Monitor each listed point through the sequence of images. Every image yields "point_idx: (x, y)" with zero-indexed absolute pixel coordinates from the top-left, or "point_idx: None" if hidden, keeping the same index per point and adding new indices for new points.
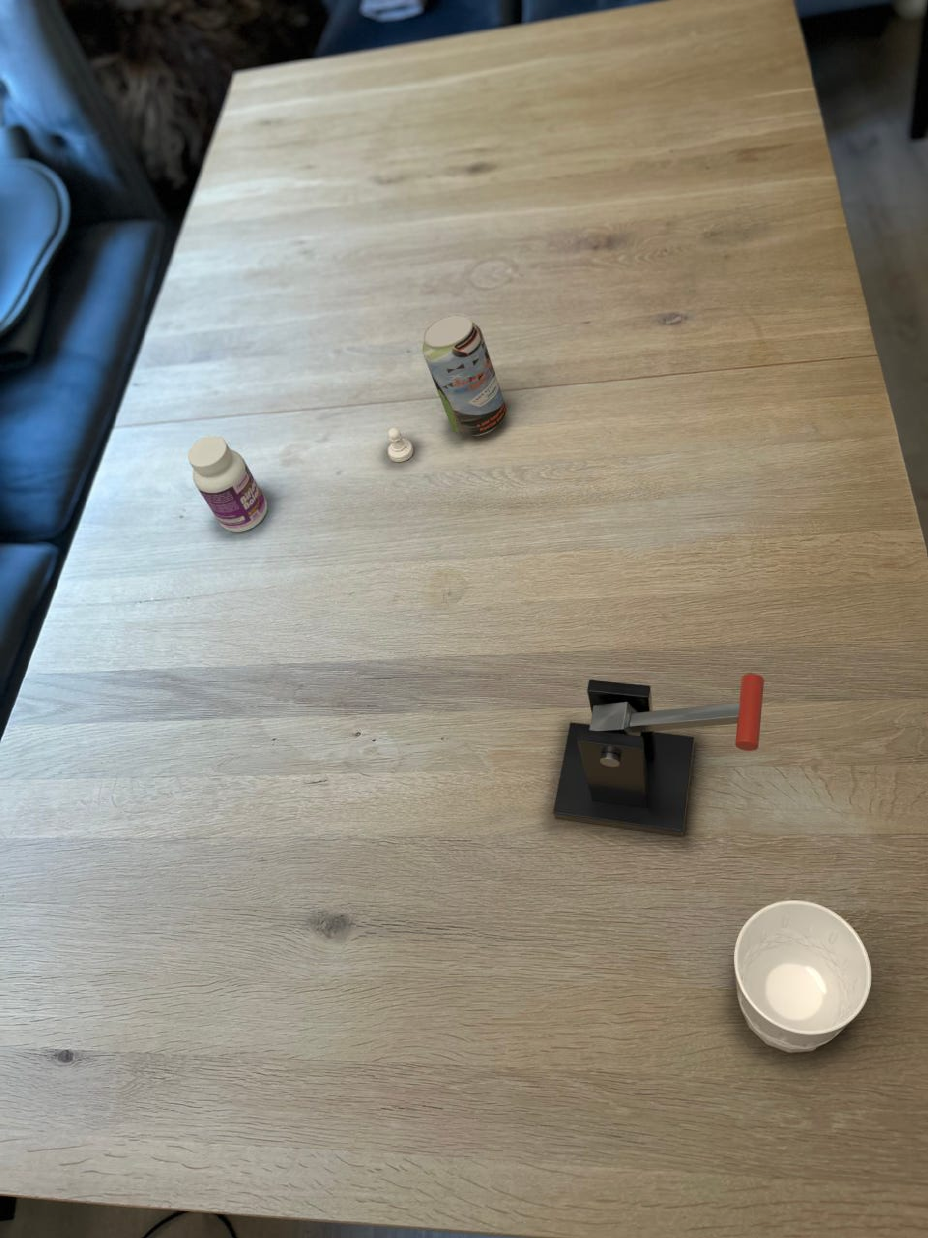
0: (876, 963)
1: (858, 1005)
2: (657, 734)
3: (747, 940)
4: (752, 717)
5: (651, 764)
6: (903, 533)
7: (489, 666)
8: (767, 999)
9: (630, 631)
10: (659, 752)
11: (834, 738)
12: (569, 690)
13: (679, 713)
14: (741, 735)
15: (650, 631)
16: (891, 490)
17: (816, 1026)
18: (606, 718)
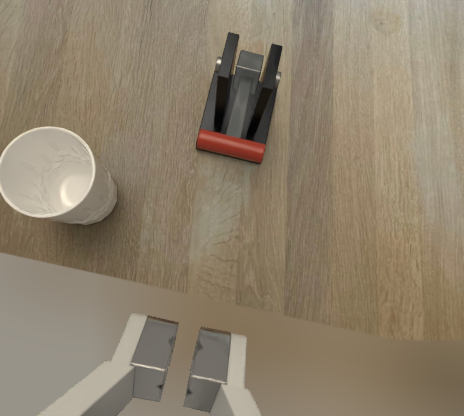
0: (105, 250)
1: (12, 203)
2: (265, 138)
3: (84, 148)
4: (221, 142)
5: (243, 132)
6: (420, 334)
7: (324, 44)
8: (80, 177)
9: (346, 134)
10: (251, 138)
11: (257, 253)
12: (303, 92)
13: (242, 102)
14: (205, 131)
15: (345, 147)
16: (459, 333)
17: (60, 202)
18: (249, 59)
